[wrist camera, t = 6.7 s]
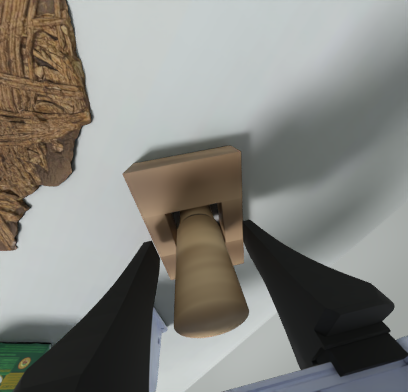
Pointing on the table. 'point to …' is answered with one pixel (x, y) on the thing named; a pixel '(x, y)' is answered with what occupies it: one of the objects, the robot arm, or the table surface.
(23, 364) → the coffee box
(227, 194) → the board
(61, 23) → the wooden fragment
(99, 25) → the table surface
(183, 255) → the peg
